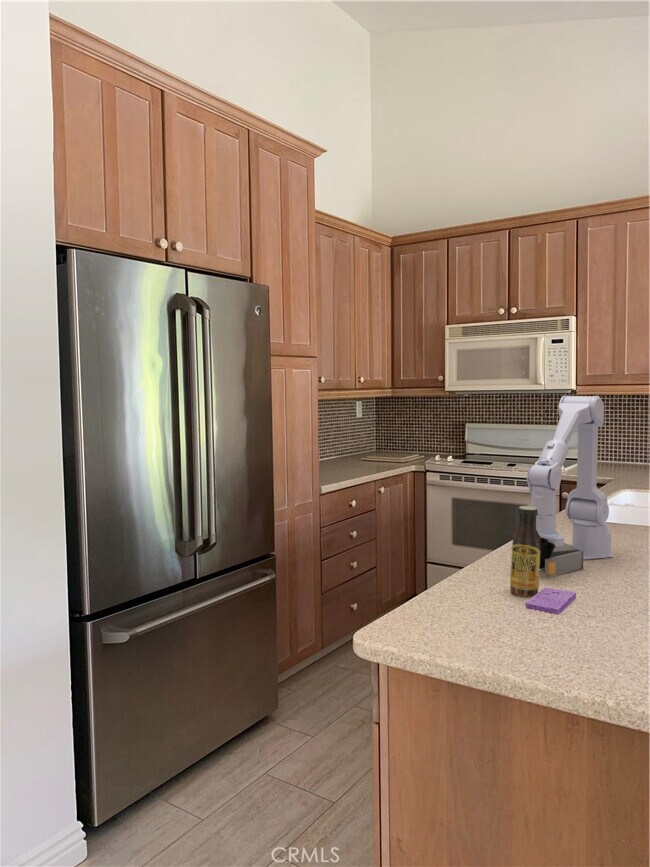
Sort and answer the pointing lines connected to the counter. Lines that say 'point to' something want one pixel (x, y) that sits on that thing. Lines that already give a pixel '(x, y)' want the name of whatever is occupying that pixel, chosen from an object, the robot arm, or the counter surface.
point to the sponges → (551, 600)
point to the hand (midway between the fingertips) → (542, 567)
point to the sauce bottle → (525, 554)
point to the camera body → (562, 551)
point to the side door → (564, 563)
